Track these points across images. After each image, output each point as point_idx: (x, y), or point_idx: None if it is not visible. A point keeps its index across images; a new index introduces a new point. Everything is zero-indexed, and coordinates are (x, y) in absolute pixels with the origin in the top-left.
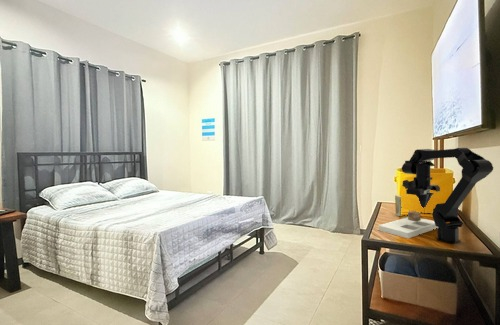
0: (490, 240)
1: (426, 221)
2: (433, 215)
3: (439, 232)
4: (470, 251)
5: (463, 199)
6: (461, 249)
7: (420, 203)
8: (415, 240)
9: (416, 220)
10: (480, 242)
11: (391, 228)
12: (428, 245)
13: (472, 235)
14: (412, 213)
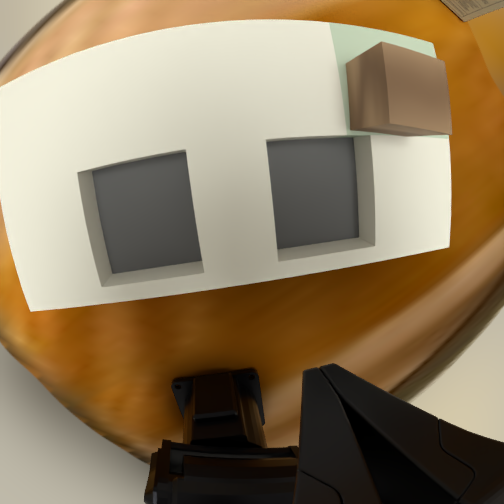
0: None
1: (410, 183)
2: (153, 492)
3: (191, 410)
4: None
5: None
6: None
7: (301, 415)
8: (63, 332)
9: (363, 131)
10: None
11: (3, 187)
12: (76, 392)
13: (391, 382)
14: (385, 88)
